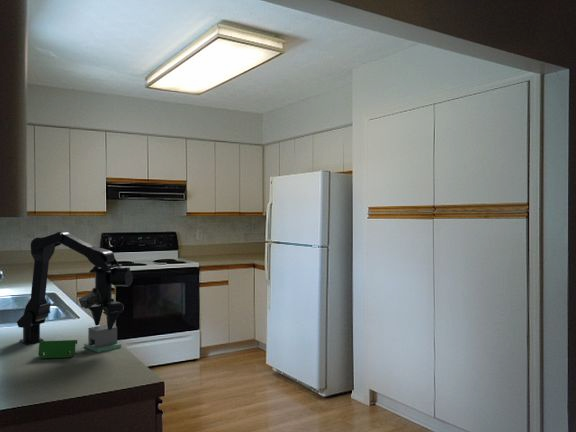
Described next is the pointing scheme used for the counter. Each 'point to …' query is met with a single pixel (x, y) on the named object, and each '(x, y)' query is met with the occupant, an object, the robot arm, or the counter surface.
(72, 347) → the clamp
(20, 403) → the counter surface
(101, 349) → the pin board
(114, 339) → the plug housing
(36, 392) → the counter surface
